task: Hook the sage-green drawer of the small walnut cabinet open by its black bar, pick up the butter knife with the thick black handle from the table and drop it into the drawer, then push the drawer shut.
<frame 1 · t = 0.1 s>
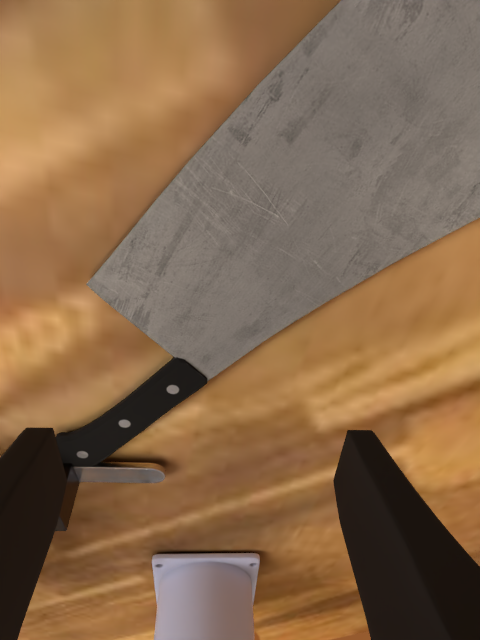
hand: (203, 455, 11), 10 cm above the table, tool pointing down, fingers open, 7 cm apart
cleaver: (211, 282, 20), on the table, touching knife
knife: (91, 468, 27), on the table, tilted 8°, touching cleaver
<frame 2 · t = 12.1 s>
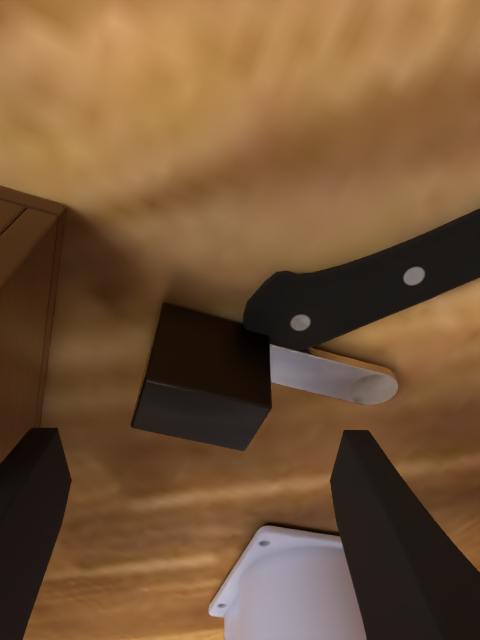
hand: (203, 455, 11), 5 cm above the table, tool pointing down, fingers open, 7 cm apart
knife: (280, 358, 16), on the table, tilted 8°, touching cleaver
when the fingers open (6 cm above the table, at t = 19.0 s): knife drops 3 cm, resting on drawer.
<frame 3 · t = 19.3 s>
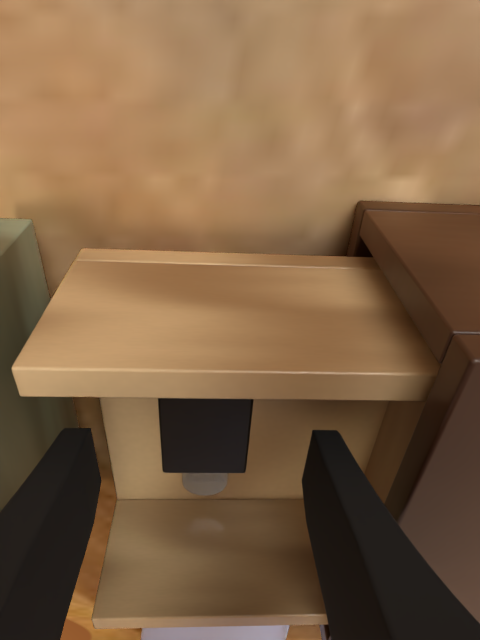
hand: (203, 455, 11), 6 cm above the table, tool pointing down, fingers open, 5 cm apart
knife: (206, 412, 16), point 2 cm above the table, touching drawer
drawer: (129, 454, 14), point 4 cm above the table, slide at 9.5 cm, touching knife
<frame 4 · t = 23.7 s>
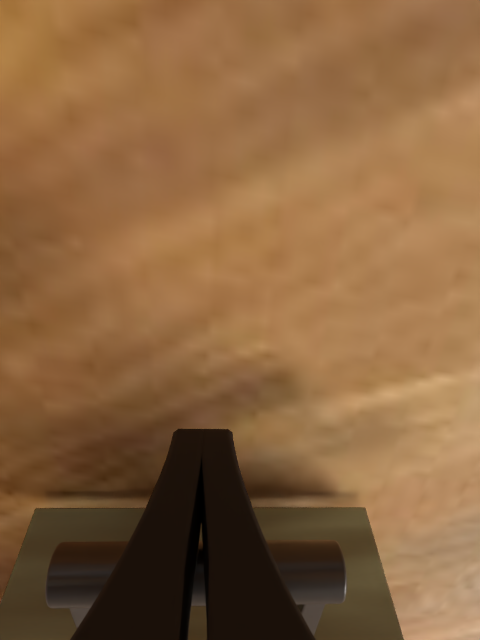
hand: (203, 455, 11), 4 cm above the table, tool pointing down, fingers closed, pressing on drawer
drawer: (201, 628, 18), point 4 cm above the table, slide at 8.5 cm, touching gripper, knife
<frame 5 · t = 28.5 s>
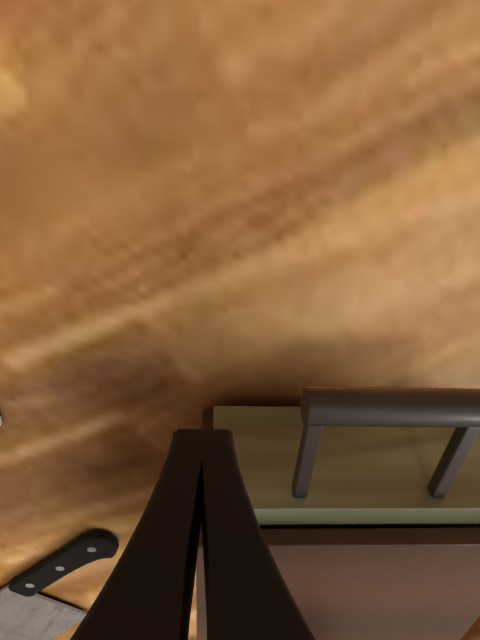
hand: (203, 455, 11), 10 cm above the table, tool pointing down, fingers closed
cleaver: (25, 610, 37), on the table
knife: (327, 496, 26), point 2 cm above the table, touching drawer
cabinet: (314, 489, 29), on the table
drawer: (340, 499, 23), point 4 cm above the table, slide at 0.0 cm, touching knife
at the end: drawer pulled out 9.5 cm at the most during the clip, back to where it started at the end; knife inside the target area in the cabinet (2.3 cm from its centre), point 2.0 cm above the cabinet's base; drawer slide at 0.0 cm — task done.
